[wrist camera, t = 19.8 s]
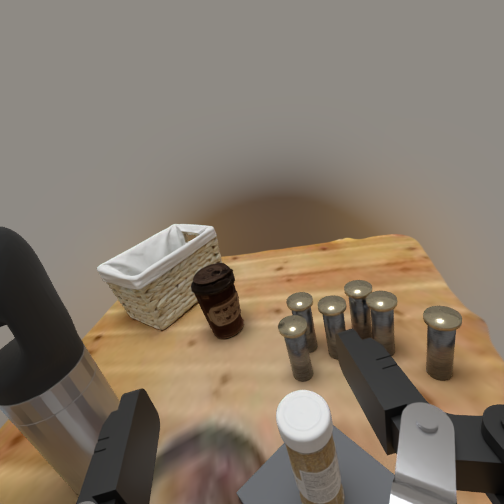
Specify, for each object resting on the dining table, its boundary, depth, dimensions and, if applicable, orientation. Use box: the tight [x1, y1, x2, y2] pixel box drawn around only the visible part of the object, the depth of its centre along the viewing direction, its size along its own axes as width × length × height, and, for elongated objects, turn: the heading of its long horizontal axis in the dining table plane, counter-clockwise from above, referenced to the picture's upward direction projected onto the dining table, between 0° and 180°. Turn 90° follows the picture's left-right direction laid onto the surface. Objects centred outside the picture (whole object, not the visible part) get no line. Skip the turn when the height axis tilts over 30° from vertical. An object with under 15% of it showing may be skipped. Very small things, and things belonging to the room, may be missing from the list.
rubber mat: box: [237, 425, 395, 504], centre depth 31 cm, size 13×13×1 cm
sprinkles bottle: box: [276, 390, 345, 504], centre depth 28 cm, size 5×4×14 cm
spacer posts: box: [278, 280, 462, 381], centre depth 42 cm, size 21×16×10 cm
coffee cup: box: [191, 263, 244, 338], centre depth 57 cm, size 9×8×13 cm
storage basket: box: [97, 224, 222, 330], centre depth 71 cm, size 24×16×15 cm
